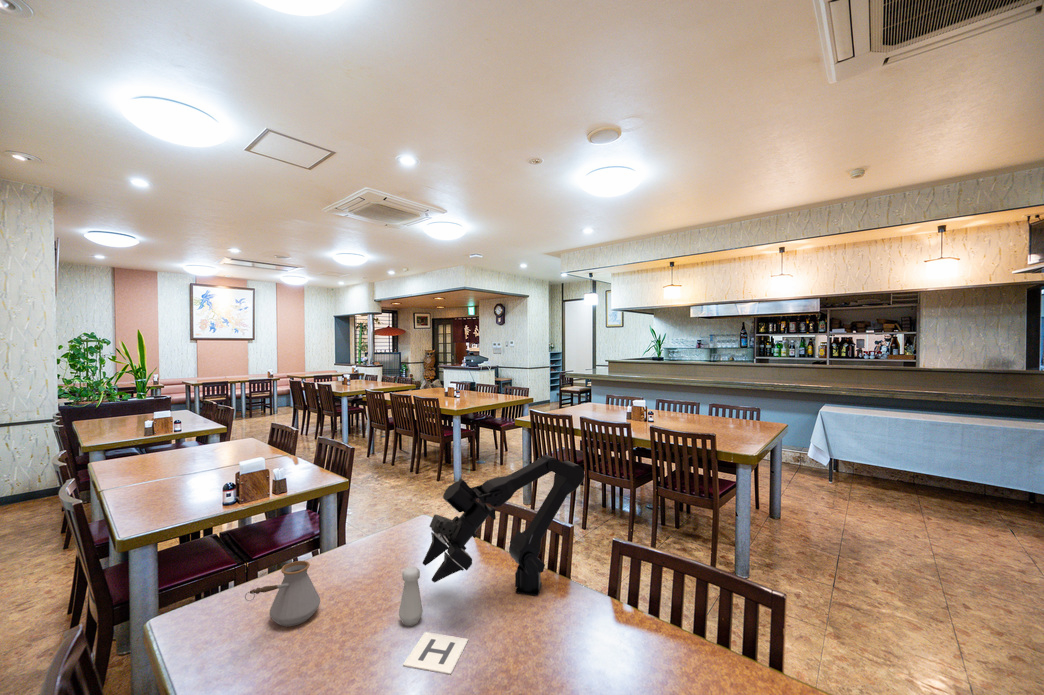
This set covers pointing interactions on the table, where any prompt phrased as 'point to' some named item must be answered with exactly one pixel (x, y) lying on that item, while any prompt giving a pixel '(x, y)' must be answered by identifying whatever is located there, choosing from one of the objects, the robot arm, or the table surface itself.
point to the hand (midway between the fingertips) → (428, 572)
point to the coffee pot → (292, 595)
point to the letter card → (436, 653)
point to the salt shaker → (410, 597)
